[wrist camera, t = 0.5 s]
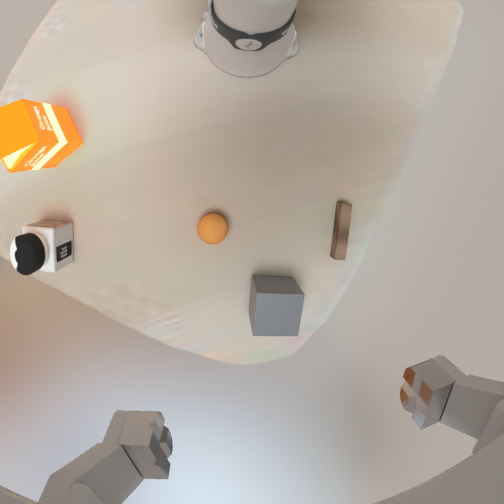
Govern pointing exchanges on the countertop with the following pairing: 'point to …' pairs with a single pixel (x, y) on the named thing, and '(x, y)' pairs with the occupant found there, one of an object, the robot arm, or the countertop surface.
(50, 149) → the orange juice
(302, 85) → the countertop surface
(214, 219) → the ball
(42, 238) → the container
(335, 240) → the bar
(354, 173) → the countertop surface
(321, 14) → the countertop surface
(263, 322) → the matte gray box
